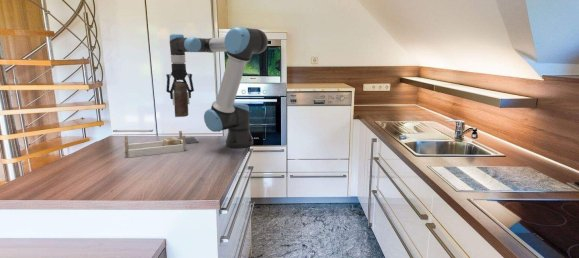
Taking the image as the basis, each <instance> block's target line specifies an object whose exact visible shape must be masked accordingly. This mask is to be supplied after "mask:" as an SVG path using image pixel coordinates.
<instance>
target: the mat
mask: <svg viewBox="0 0 579 258" xmlns="http://www.w3.org/2000/svg"><path fill="white" fill-rule="evenodd" d="M176 138H177V137H176ZM177 139H180V137H179V138H177ZM182 140H183V139H182ZM185 143H186V145H189V144H199V141H198V140H197V138H195V136H191V137H189V136H188V137H185Z"/></svg>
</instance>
